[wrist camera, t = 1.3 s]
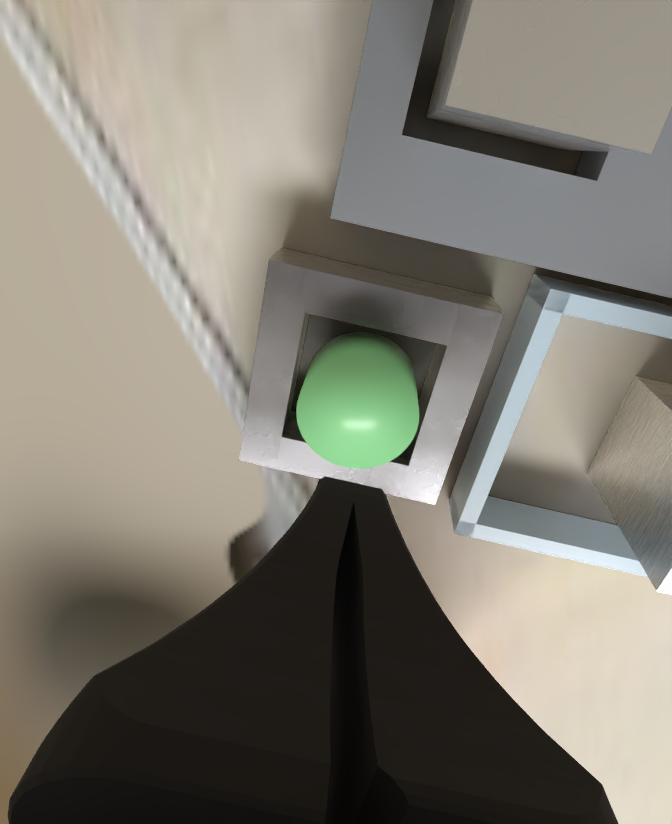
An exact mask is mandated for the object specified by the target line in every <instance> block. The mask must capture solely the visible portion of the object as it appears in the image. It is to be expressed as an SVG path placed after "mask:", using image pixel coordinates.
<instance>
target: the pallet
mask: <svg viewBox="0 0 672 824" xmlns="http://www.w3.org/2000/svg"><path fill="white" fill-rule="evenodd" d="M433 1H434V0H373V1H372V6H371V11H370V16H369V22H368V27H367V32H366V37H365V42H364V47H363V52H362V57H361V63H360V68H359V73H358V78H357V83H356V88H355V93H354V99H353V104H352V109H351V114H350V119H349V124H348V129H347V134H346V140H345V145H344V150H343V155H342V160H341V165H340V170H339V175H338V181H337V186H336V191H335V196H334V201H333V206H332V211H331V216H330V218H331V219H336V220H340V221H344V222H348V223H353V224H357V225H361V226H365V227H370V228H374V229H378V230H383V231H387V232H391V233H395V234H400V235H404V236H408V237H413V238H417V239H421V240H425V241H430V242H434V243H438V244H442V245H447V246H451V247H455V248H460V249H464V250H468V251H472V252H477V253H481V254H485V255H489V256H494V257H498V258H502V259H507V260H511V261H515V262H519V263H524V264H528V265H532V266H536V267H541V268H545V269H549V270H554V271H558V272H562V273H566V274H571V275H575V276H579V277H584V278H588V279H592V280H596V281H601V282H605V283H609V284H613V285H618V286H622V287H626V288H631V289H635V290H639V291H643V292H648V293H652V294H656V295H660V296H665V297H669V298H672V107H671V109H670V112H669V114H668V116H667V119H666V121H665V123H664V126H663V128H662V130H661V132H660V135H659V137H658V139H657V142H656V144H655V146H654V149H653V151H652V153H651V154H641V153H621V152H601V151H583V154H582V157H581V159H580V162H579V164H578V167H577V170H576V172H575V175H569V174H565V173H561V172H557V171H552V170H548V169H544V168H540V167H536V166H531V165H527V164H523V163H519V162H514V161H510V160H506V159H502V158H497V157H493V156H489V155H485V154H481V153H476V152H472V151H468V150H464V149H459V148H455V147H451V146H447V145H443V144H438V143H434V142H430V141H426V140H421V139H417V138H413V137H409V136H405V135H402V132H403V128H404V123H405V119H406V115H407V111H408V106H409V102H410V98H411V94H412V90H413V85H414V81H415V77H416V73H417V68H418V64H419V60H420V56H421V52H422V47H423V43H424V39H425V35H426V30H427V26H428V22H429V18H430V13H431V9H432V5H433Z"/></svg>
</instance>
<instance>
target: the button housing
mask: <svg viewBox="0 0 672 824" xmlns="http://www.w3.org/2000/svg"><path fill="white" fill-rule="evenodd" d="M310 314H313V315H317V316H322V317H326V318H330V319H335V320H339V321H343V322H348V323H352V324H356V325H360V326H365V327H369V328H373V329H378V330H382V331H386V332H391V333H395V334H399V335H404V336H408V337H412V338H417V339H421V340H425V341H430V342H434V343H436V346H435V349H434V352H433V356H432V359H431V362H430V365H429V368H428V372H427V375H426V378H425V381H424V384H423V388H422V391H421V394H420V397H419V401H418V405H419V424H418V428H417V431H416V434H415V436H414V438H413V440H412V442H411V443H410V445H409V446H408V447H407V448H406V449H405V450H404V451H403V452H402V453H401V454H400V455H399V456H398V457H396V458H395V459H393V460H391V461H390V462H388V463H385V464H383V465H380V466H376V467H372V468H364V469H355V468H347V467H342V466H339V465H336V464H333V463H331V462H329V461H327V460H325V459H323V458H322V457H321V456H319V455H318V454H317V453H315V452H314V451H313V450H312V449H311V448H310V446H309V445H308V444H307V443H306V441H305V440H304V438H303V436H302V434H301V432H300V430H299V427H298V423H297V417H296V412H294V411H291V408H292V403H293V398H294V393H295V388H296V382H297V377H298V372H299V367H300V362H301V357H302V351H303V346H304V341H305V336H306V331H307V326H308V320H309V315H310ZM503 316H504V313H503V312H502V310H501V309H500V307H499V306H498V304H497V303H496V301H495V300H494V298H493V297H491V296H487V295H482V294H478V293H474V292H469V291H465V290H461V289H457V288H452V287H448V286H444V285H439V284H435V283H431V282H427V281H422V280H418V279H414V278H409V277H405V276H401V275H396V274H392V273H388V272H384V271H379V270H375V269H371V268H366V267H362V266H358V265H354V264H349V263H345V262H341V261H336V260H332V259H328V258H323V257H319V256H315V255H311V254H306V253H302V252H298V251H293V250H289V249H285V248H281V249H280V250H279V251H278V252H277V253H276V254H274V255H273V256H272V257H271V258H270V259H269V264H268V271H267V277H266V284H265V291H264V297H263V304H262V310H261V317H260V324H259V330H258V337H257V343H256V350H255V357H254V363H253V370H252V376H251V383H250V390H249V396H248V403H247V410H246V416H245V423H244V429H243V436H242V443H241V449H240V456H239V461H243V462H248V463H252V464H256V465H261V466H265V467H270V468H274V469H278V470H283V471H287V472H292V473H296V474H300V475H305V476H309V477H314V478H318V479H321V478H323V477H325V476H327V477H331V478H335V479H340V480H344V481H349V482H353V483H358V484H362V485H366V486H371V487H375V488H380V489H382V490H383V491H384V493H385V494H389V495H393V496H397V497H402V498H406V499H411V500H415V501H420V502H424V503H428V504H433V505H435V504H436V501H437V498H438V496H439V493H440V490H441V487H442V485H443V482H444V479H445V476H446V474H447V471H448V468H449V465H450V462H451V460H452V457H453V454H454V451H455V449H456V446H457V443H458V440H459V438H460V435H461V432H462V429H463V427H464V424H465V421H466V418H467V416H468V413H469V410H470V407H471V405H472V402H473V399H474V396H475V393H476V391H477V388H478V385H479V382H480V380H481V377H482V374H483V371H484V369H485V366H486V363H487V360H488V358H489V355H490V352H491V349H492V347H493V344H494V341H495V338H496V335H497V333H498V330H499V327H500V324H501V322H502V319H503Z"/></svg>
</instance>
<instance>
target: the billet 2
mask: <svg viewBox="0 0 672 824" xmlns="http://www.w3.org/2000/svg"><path fill="white" fill-rule="evenodd" d="M587 474H588V476H589V478H590V479H591V481H592V483H593V484H594V486H595V488H596V489H597V491H598V493H599V494H600V496H601V498H602V500H603V501H604V503H605V505H606V506H607V508H608V510H609V511H610V513H611V515H612V516H613V518H614V520H615V521H616V523H617V525H618V527H619V528H620V530H621V532H622V533H623V535H624V537H625V538H626V540H627V542H628V543H629V545H630V547H631V549H632V550H633V552H634V554H635V555H636V557H637V559H638V560H639V562H640V564H641V565H642V567H643V569H644V571H645V572H646V574H647V576H648V577H649V579H650V581H651V582H652V584H653V586H654V587H655V589H656V591H658V592H662V593H666V594H671V595H672V384H668V383H663V382H659V381H655V380H650V379H646V378H642V377H637V376H635V378H634V380H633V382H632V384H631V386H630V388H629V390H628V392H627V394H626V396H625V398H624V400H623V402H622V404H621V406H620V408H619V410H618V412H617V414H616V416H615V418H614V420H613V422H612V424H611V426H610V428H609V430H608V432H607V434H606V436H605V438H604V440H603V442H602V444H601V446H600V448H599V450H598V451H597V453H596V455H595V457H594V459H593V461H592V463H591V465H590V467H589V469H588V471H587Z"/></svg>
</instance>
